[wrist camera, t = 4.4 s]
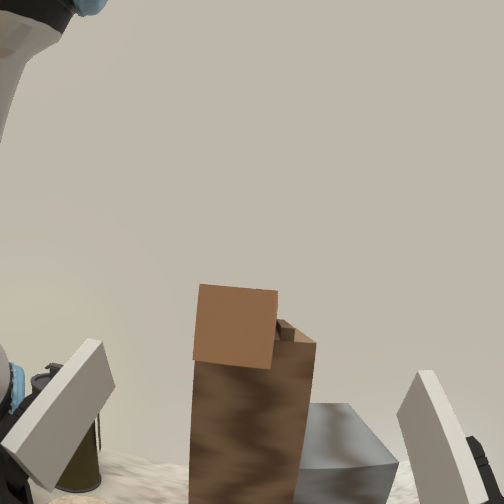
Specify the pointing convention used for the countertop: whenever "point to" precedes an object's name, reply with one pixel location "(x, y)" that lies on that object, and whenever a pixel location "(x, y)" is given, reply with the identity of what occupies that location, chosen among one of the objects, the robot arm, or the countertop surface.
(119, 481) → the countertop surface
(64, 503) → the teacup with lid
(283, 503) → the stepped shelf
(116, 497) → the countertop surface
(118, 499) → the countertop surface
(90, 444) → the canister
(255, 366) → the terracotta bar
